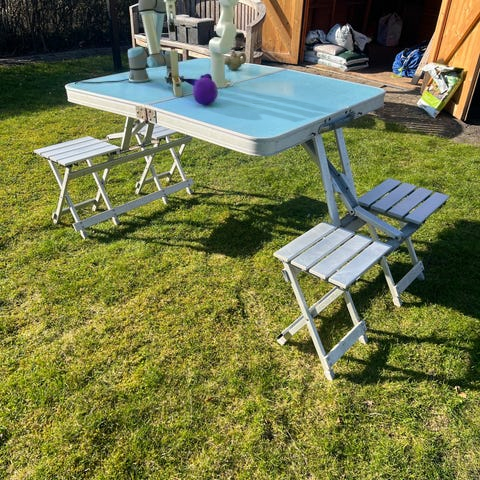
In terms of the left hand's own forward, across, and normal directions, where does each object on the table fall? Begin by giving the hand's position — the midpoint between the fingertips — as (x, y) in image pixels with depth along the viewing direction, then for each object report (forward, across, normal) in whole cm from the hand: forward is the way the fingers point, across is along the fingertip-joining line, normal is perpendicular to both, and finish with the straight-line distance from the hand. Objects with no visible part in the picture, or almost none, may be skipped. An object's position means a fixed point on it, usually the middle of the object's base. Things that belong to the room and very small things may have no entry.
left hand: (176, 82), depth 301 cm
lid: (-1, 0, +12) cm, 12 cm away
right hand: (+2, 0, +32) cm, 32 cm away
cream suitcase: (+4, 0, -6) cm, 7 cm away
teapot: (-70, -54, -6) cm, 89 cm away
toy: (+34, -12, -6) cm, 37 cm away
